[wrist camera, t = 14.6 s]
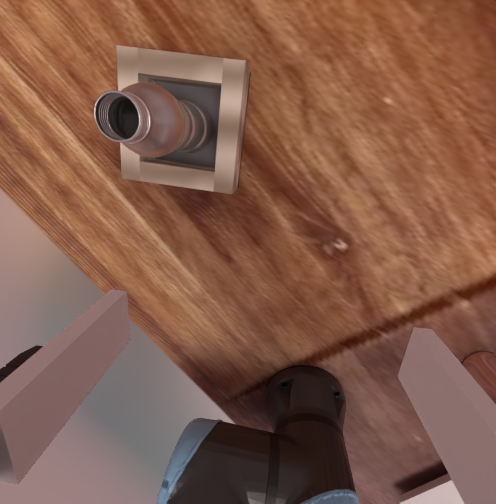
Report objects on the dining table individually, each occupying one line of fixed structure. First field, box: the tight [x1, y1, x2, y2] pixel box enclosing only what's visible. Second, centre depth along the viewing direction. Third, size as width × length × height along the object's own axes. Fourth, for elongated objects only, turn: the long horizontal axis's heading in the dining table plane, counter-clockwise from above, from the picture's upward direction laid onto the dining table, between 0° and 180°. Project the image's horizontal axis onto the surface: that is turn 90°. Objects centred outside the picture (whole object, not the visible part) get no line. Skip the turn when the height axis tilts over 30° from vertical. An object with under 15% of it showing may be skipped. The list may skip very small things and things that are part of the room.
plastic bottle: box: [93, 82, 212, 158], centre depth 31 cm, size 6×7×20 cm
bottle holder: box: [116, 45, 251, 194], centre depth 38 cm, size 15×15×6 cm
